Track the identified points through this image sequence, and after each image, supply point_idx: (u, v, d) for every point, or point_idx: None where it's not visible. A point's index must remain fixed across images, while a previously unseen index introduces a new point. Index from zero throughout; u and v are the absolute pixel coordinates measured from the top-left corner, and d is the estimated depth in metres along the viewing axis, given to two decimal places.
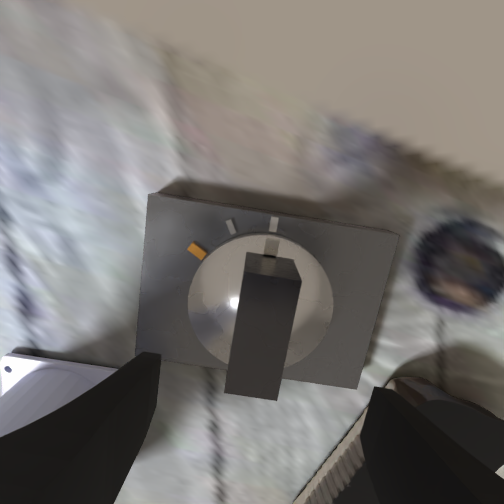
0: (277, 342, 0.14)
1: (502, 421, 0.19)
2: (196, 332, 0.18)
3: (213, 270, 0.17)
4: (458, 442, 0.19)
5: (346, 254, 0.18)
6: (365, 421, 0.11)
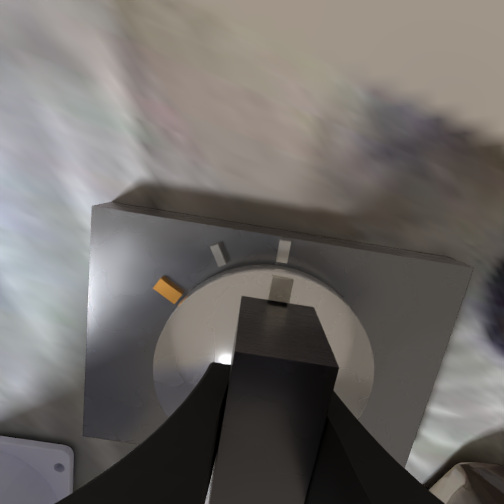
0: (293, 465, 0.08)
1: None
2: (167, 412, 0.12)
3: (190, 324, 0.11)
4: None
5: (392, 295, 0.12)
6: None
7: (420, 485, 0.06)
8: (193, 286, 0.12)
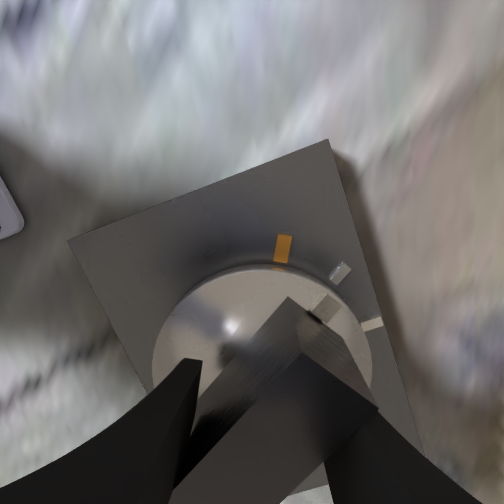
0: (285, 473, 0.08)
1: None
2: (154, 366, 0.12)
3: (227, 297, 0.11)
4: None
5: None
6: None
7: (464, 491, 0.06)
8: (297, 267, 0.12)
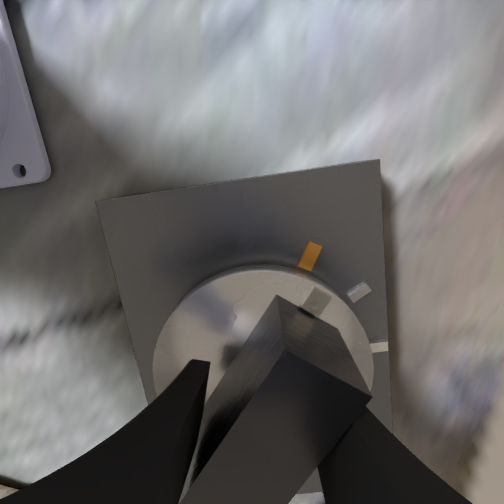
0: (288, 472, 0.08)
1: None
2: (155, 379, 0.12)
3: (216, 303, 0.11)
4: None
5: None
6: None
7: (452, 490, 0.06)
8: (319, 277, 0.12)
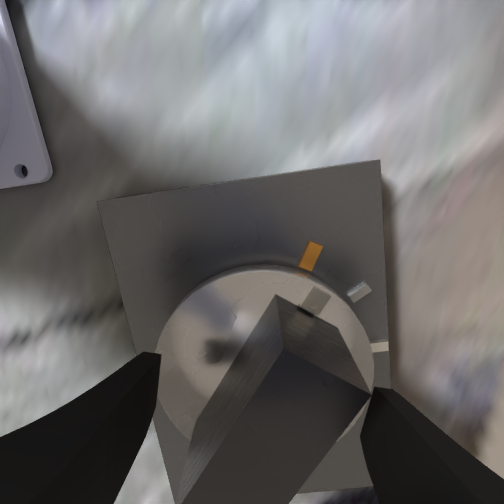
0: (289, 471, 0.08)
1: None
2: None
3: (215, 304, 0.11)
4: None
5: (356, 438, 0.14)
6: (365, 421, 0.11)
7: None
8: (319, 277, 0.12)
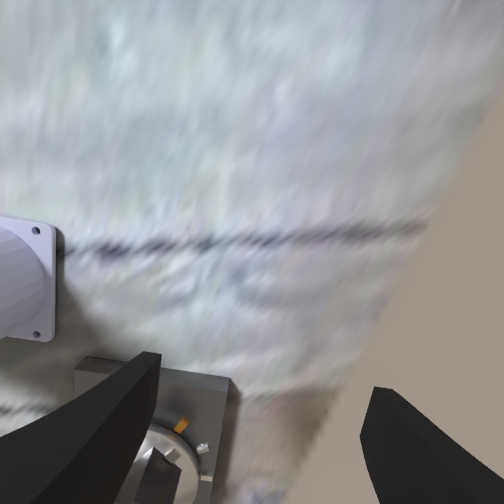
0: None
1: None
2: None
3: None
4: None
5: None
6: (365, 421, 0.11)
7: None
8: (184, 436, 0.22)
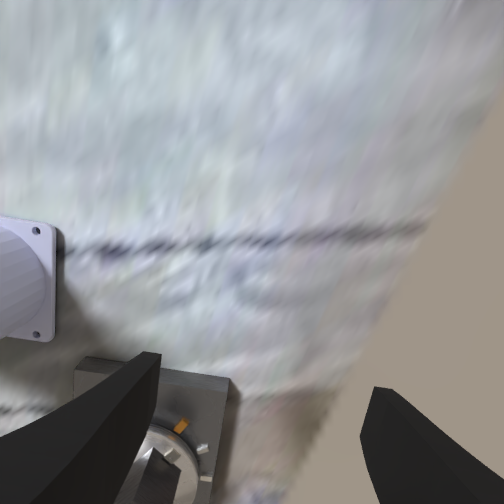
0: None
1: None
2: None
3: None
4: None
5: None
6: (365, 421, 0.11)
7: None
8: (184, 436, 0.22)
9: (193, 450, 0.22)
